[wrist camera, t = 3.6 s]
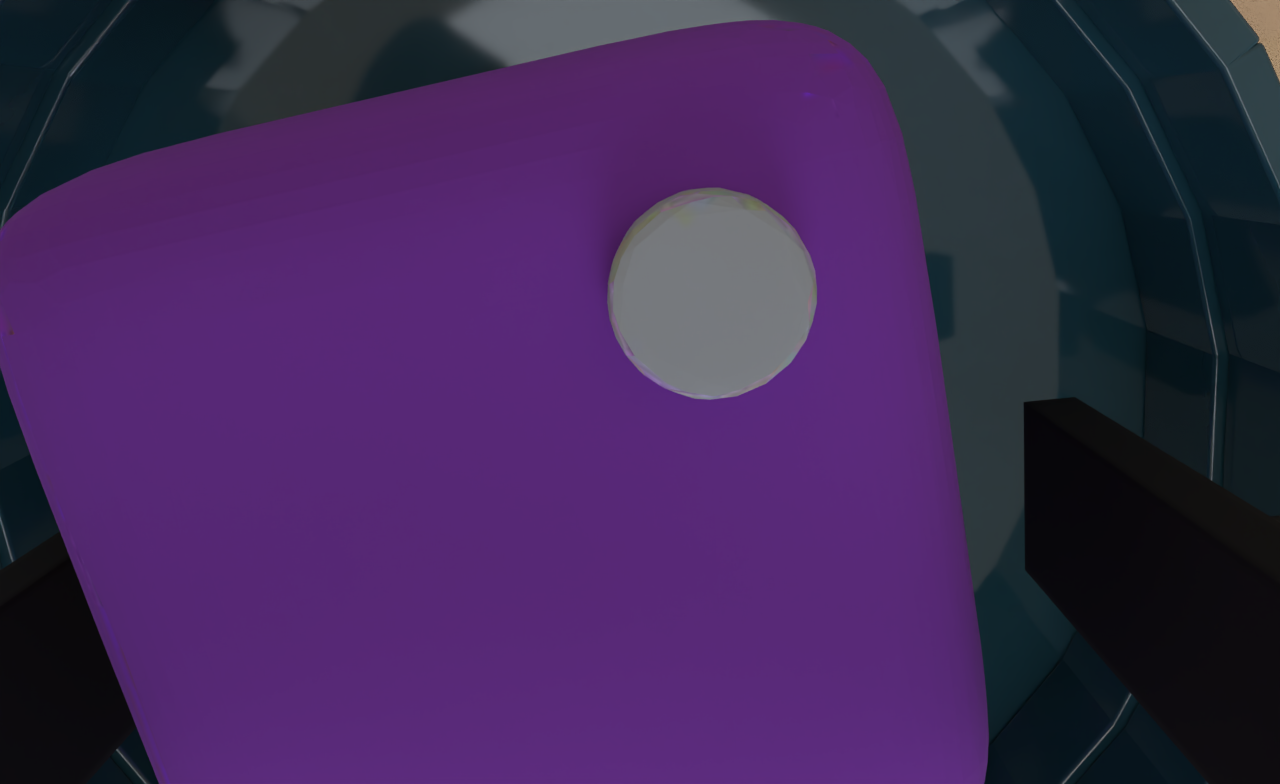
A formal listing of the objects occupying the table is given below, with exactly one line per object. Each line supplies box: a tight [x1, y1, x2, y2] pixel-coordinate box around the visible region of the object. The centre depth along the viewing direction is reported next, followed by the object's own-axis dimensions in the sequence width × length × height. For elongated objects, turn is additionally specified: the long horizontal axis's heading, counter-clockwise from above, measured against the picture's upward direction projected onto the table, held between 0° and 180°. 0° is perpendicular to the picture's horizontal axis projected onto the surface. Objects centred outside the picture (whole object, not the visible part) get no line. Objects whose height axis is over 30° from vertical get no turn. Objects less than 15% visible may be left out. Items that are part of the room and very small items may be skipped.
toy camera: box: [0, 20, 989, 784], centre depth 14 cm, size 11×14×10 cm
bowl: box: [0, 0, 1280, 784], centre depth 17 cm, size 22×22×5 cm
